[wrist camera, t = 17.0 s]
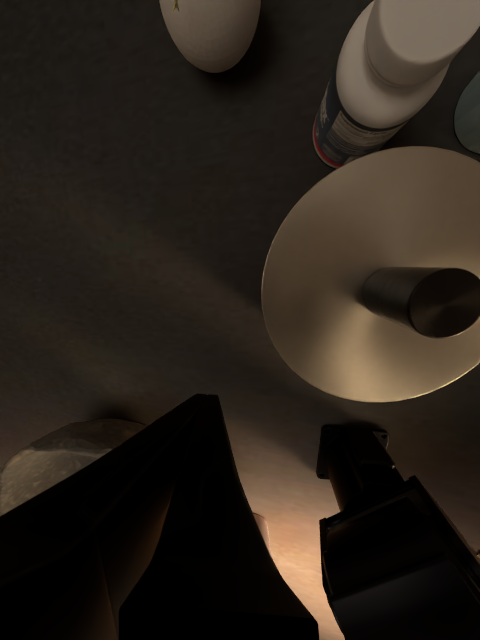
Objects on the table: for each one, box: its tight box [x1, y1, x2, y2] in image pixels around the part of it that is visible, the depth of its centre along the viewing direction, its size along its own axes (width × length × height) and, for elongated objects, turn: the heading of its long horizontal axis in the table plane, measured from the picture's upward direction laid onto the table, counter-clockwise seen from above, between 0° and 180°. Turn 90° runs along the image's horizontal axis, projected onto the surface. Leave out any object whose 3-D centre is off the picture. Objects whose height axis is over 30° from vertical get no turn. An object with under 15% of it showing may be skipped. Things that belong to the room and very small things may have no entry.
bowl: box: [0, 418, 147, 516], centre depth 22 cm, size 18×18×8 cm
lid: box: [261, 146, 480, 402], centre depth 9 cm, size 12×12×5 cm
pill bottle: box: [313, 0, 480, 169], centre depth 12 cm, size 5×5×9 cm
